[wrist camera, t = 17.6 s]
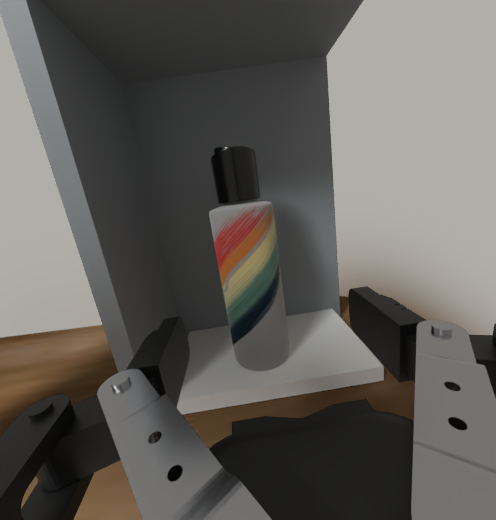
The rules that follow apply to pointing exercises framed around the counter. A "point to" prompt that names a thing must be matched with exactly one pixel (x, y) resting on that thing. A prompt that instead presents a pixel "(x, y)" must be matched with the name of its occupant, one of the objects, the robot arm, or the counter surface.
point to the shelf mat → (283, 376)
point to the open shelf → (182, 143)
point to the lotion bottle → (248, 261)
